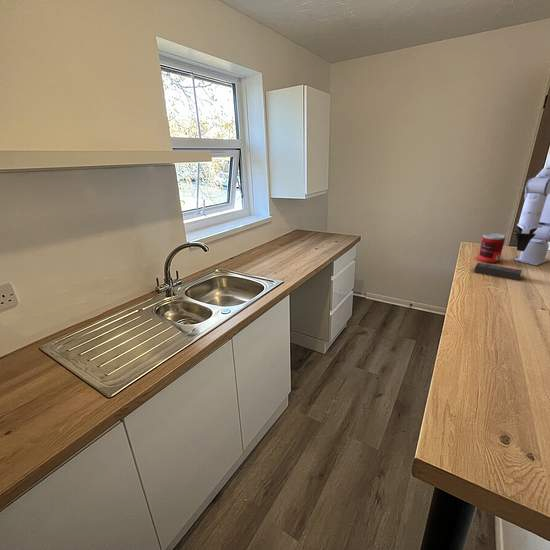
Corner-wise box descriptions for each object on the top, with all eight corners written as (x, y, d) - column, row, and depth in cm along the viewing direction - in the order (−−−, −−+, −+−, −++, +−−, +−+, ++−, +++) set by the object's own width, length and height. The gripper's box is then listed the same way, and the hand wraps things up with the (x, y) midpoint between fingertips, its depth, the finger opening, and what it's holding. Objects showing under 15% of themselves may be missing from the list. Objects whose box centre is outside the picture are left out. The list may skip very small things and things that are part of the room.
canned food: (497, 258, 131) (503, 233, 126) (500, 264, 124) (507, 238, 120) (476, 256, 134) (481, 232, 129) (479, 262, 127) (484, 237, 123)
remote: (474, 272, 118) (475, 265, 117) (476, 268, 121) (477, 262, 120) (518, 280, 109) (520, 273, 108) (519, 276, 112) (521, 269, 111)
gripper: (545, 217, 101) (533, 255, 106) (546, 209, 111) (536, 244, 116) (519, 215, 105) (509, 251, 111) (522, 208, 115) (513, 242, 121)
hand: (521, 248), depth 114 cm, fingers open, 7 cm apart
